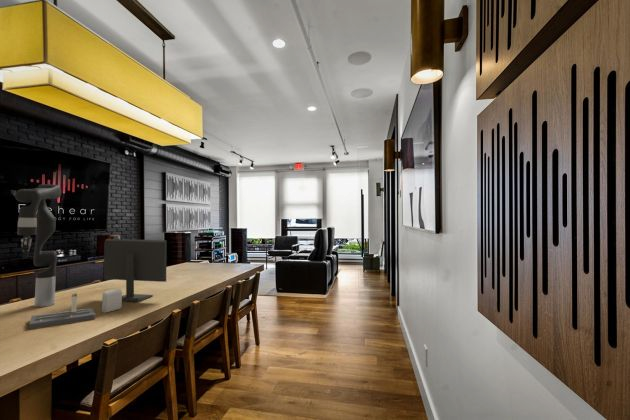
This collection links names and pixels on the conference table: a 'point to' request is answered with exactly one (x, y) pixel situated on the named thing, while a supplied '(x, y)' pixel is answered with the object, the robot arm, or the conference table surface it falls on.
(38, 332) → the conference table surface
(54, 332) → the conference table surface
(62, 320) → the grey slider track board
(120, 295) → the photo printer
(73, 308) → the fader
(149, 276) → the computer monitor
